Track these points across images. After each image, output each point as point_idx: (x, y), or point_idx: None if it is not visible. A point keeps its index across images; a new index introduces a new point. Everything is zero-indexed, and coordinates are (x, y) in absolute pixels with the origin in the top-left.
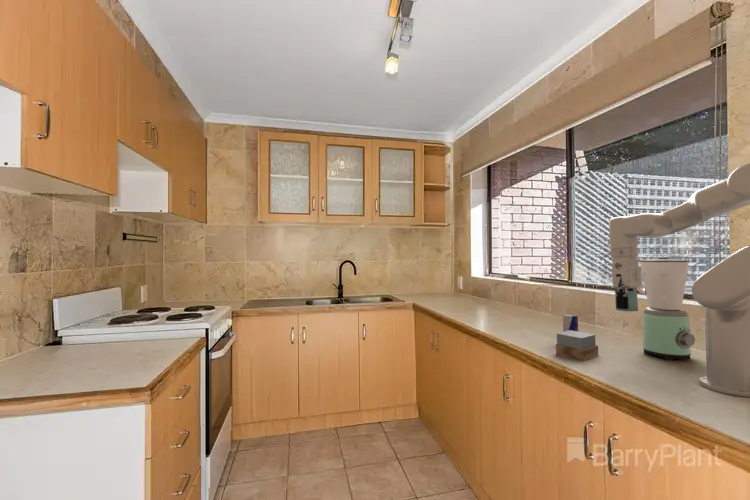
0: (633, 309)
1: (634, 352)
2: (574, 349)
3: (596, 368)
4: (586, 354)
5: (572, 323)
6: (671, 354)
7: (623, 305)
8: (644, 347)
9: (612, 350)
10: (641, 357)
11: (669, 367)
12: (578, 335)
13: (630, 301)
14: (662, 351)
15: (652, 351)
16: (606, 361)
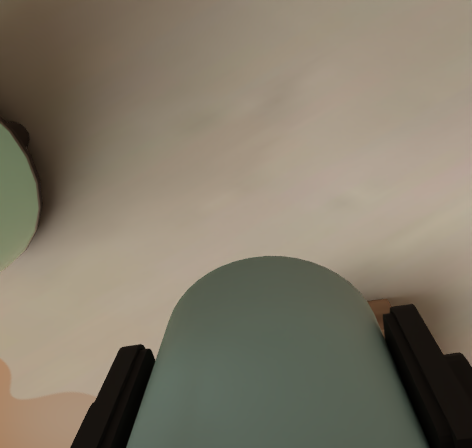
0: (321, 275)
1: (53, 275)
2: None
3: (462, 208)
4: (376, 315)
5: None
6: (1, 122)
7: (463, 357)
8: (23, 250)
9: (117, 335)
10: (100, 216)
11: (135, 61)
12: None
13: (371, 362)
14: (19, 158)
15: (39, 200)
16: (312, 250)
